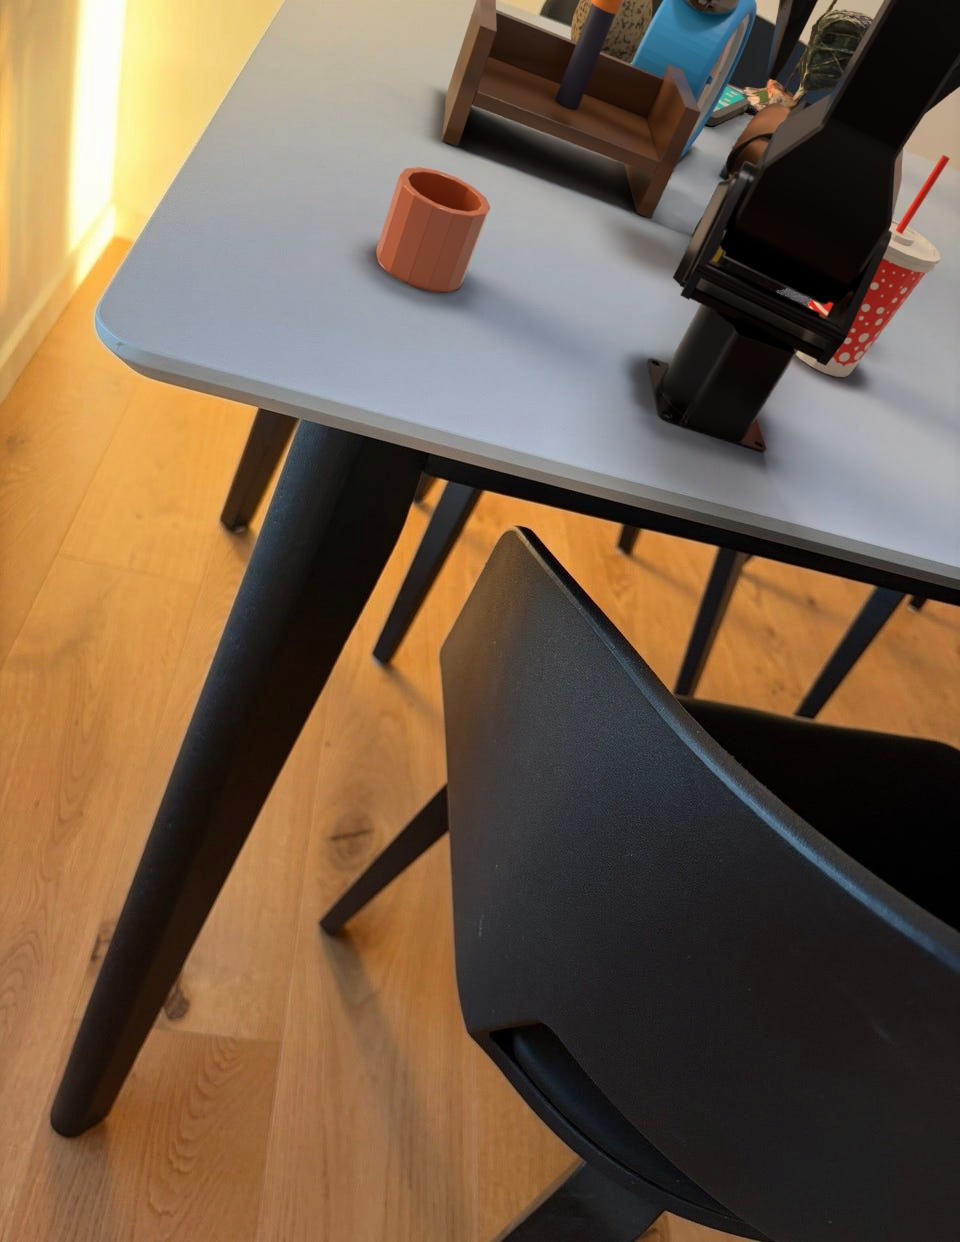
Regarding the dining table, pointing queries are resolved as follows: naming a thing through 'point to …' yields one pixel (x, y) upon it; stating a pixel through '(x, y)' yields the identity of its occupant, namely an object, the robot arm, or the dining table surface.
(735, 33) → the alarm clock
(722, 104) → the smartphone
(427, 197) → the pen cup
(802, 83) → the plant with pod
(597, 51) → the marker
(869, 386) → the dining table surface
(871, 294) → the beverage cup
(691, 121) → the shelf
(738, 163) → the sunglasses case
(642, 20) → the decorative egg
